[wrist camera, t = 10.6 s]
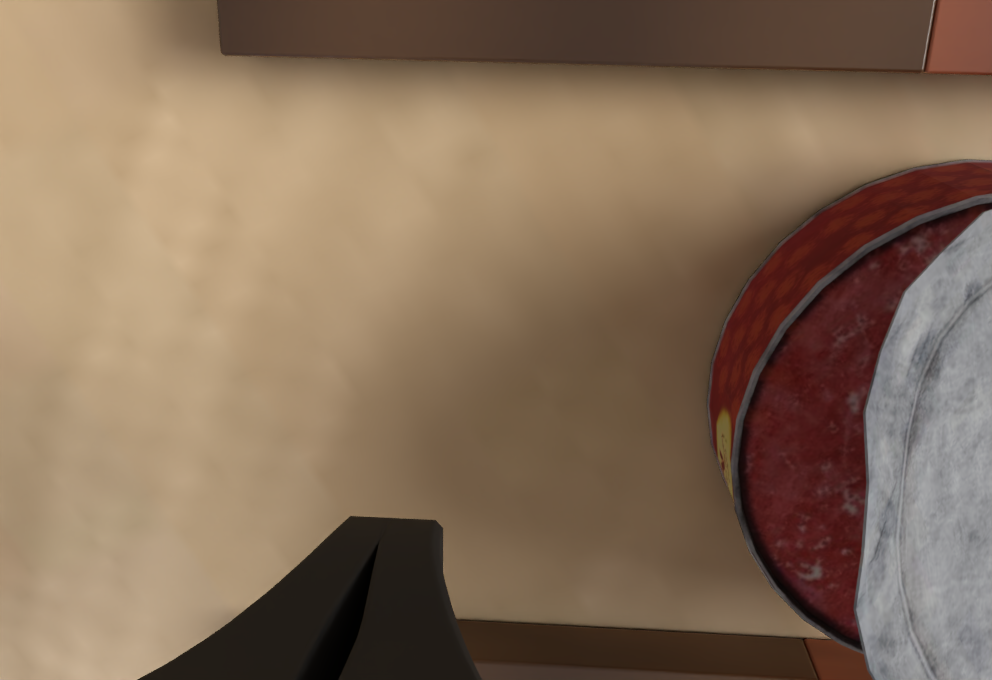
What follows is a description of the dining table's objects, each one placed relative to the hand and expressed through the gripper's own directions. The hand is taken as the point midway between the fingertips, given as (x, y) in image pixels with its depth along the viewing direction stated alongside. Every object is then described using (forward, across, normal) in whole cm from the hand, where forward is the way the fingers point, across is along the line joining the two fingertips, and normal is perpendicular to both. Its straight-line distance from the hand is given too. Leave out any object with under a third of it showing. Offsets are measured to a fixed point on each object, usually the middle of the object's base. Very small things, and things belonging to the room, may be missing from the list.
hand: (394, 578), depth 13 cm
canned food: (+8, -10, 0) cm, 13 cm away
